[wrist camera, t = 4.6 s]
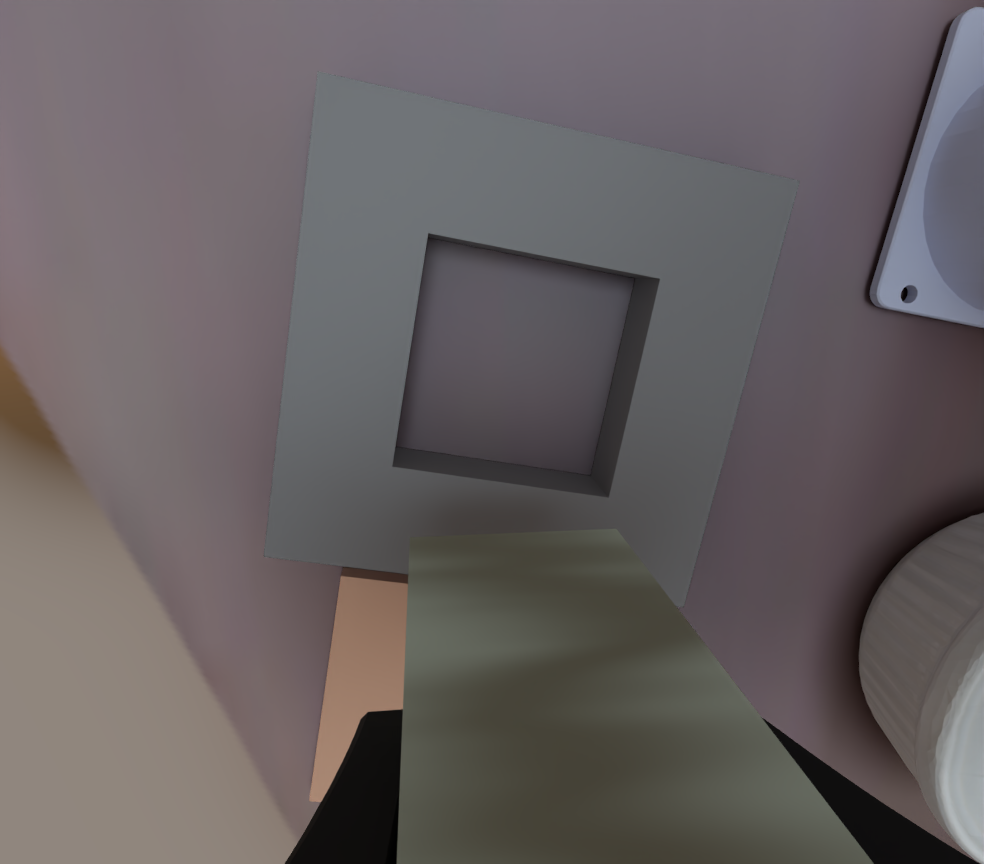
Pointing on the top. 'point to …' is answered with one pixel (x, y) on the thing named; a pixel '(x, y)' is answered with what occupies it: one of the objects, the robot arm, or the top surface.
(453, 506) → the pocket board
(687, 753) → the sage block
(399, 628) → the coaster
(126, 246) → the top surface
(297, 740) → the top surface
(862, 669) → the ramekin
